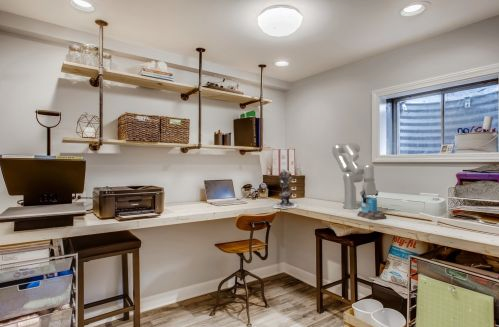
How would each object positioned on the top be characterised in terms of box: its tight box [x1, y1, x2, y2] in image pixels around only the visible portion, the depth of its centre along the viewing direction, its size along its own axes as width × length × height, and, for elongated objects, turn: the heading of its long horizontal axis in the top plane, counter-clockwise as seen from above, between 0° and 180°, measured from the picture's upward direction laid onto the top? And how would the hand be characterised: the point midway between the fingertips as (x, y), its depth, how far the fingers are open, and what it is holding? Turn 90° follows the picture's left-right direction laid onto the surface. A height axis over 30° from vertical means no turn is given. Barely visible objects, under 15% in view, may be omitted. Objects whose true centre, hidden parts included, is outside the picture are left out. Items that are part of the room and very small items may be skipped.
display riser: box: [356, 210, 387, 221], centre depth 212 cm, size 16×12×4 cm
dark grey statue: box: [271, 169, 299, 210], centre depth 266 cm, size 22×25×35 cm
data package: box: [360, 196, 378, 213], centre depth 230 cm, size 12×4×12 cm, turn 23°
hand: (369, 202), depth 229 cm, fingers open, 9 cm apart
